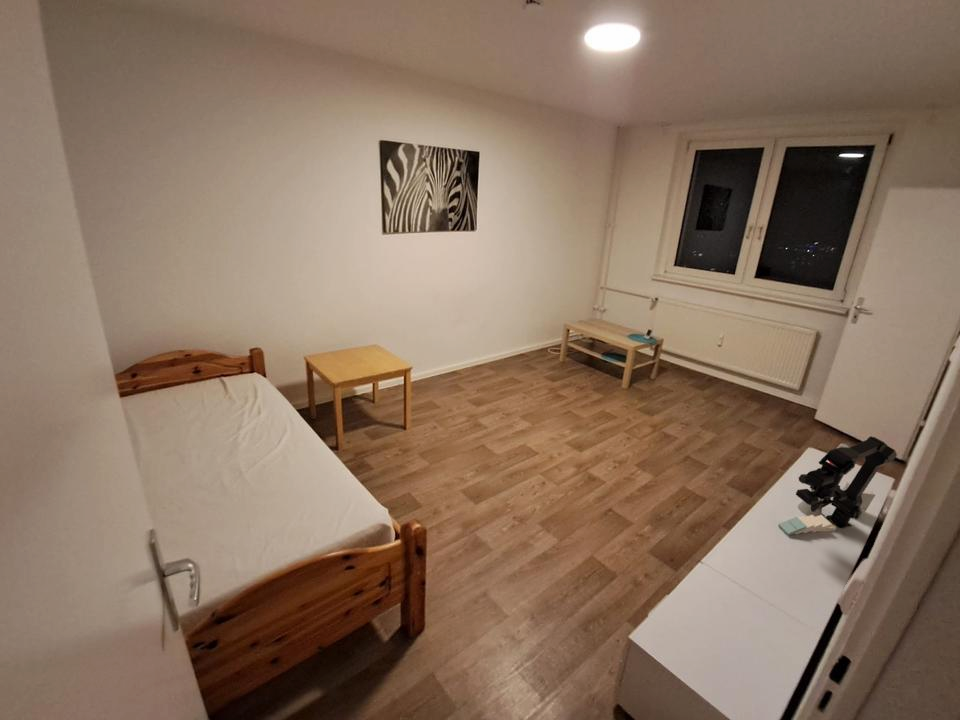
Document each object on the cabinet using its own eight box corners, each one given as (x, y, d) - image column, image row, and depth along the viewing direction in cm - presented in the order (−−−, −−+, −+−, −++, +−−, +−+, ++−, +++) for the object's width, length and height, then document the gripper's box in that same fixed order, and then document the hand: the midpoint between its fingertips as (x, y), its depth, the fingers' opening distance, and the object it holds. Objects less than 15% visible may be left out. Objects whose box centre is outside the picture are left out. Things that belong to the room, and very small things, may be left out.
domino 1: (788, 533, 174) (806, 526, 174) (778, 523, 179) (796, 516, 179) (788, 536, 175) (806, 528, 175) (778, 526, 179) (796, 519, 180)
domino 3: (794, 524, 181) (811, 517, 181) (804, 533, 177) (822, 526, 177) (794, 521, 181) (812, 514, 181) (804, 530, 176) (822, 523, 176)
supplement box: (851, 505, 196) (864, 483, 190) (862, 517, 189) (876, 494, 183) (834, 502, 196) (846, 480, 191) (844, 514, 189) (858, 492, 184)
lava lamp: (826, 519, 186) (864, 453, 171) (805, 517, 185) (842, 451, 170) (812, 504, 194) (847, 439, 179) (792, 502, 194) (826, 437, 179)
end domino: (808, 522, 183) (824, 521, 185) (818, 532, 179) (835, 530, 180) (810, 519, 182) (826, 518, 184) (820, 529, 178) (836, 527, 180)
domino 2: (786, 525, 181) (803, 518, 181) (795, 534, 176) (814, 527, 176) (786, 522, 180) (804, 515, 180) (796, 532, 175) (814, 524, 175)
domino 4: (802, 523, 182) (821, 517, 182) (812, 532, 178) (831, 526, 178) (802, 520, 181) (821, 514, 181) (812, 530, 177) (831, 524, 177)
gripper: (828, 464, 174) (812, 494, 180) (791, 468, 169) (776, 498, 176) (856, 483, 164) (838, 514, 171) (817, 488, 159) (800, 519, 166)
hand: (812, 511), depth 171 cm, fingers closed
